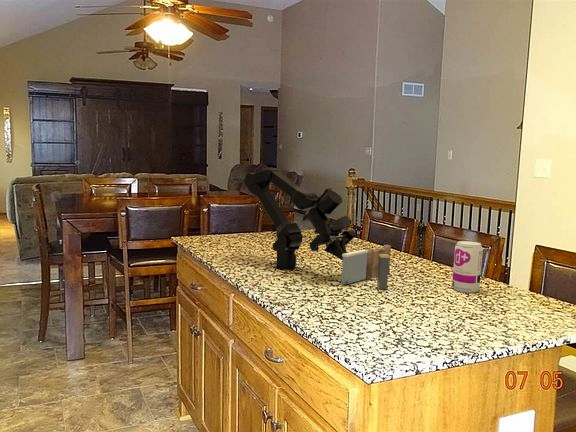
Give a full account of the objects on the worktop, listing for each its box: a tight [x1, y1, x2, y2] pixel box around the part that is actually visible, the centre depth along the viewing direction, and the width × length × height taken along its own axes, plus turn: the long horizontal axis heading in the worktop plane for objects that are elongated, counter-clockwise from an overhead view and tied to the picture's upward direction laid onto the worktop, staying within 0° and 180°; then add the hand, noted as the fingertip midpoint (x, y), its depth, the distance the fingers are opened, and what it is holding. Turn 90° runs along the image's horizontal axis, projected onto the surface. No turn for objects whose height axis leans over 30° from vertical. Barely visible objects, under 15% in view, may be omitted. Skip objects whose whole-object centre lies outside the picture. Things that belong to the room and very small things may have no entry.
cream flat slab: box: [340, 249, 368, 286], centre depth 172 cm, size 12×2×10 cm, turn 138°
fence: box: [363, 244, 392, 281], centre depth 182 cm, size 14×3×10 cm, turn 138°
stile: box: [376, 254, 391, 290], centre depth 166 cm, size 3×3×11 cm
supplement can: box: [451, 240, 484, 294], centre depth 168 cm, size 8×8×15 cm
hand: (347, 261), depth 172 cm, fingers closed
